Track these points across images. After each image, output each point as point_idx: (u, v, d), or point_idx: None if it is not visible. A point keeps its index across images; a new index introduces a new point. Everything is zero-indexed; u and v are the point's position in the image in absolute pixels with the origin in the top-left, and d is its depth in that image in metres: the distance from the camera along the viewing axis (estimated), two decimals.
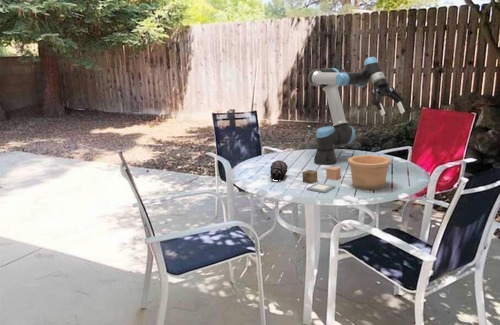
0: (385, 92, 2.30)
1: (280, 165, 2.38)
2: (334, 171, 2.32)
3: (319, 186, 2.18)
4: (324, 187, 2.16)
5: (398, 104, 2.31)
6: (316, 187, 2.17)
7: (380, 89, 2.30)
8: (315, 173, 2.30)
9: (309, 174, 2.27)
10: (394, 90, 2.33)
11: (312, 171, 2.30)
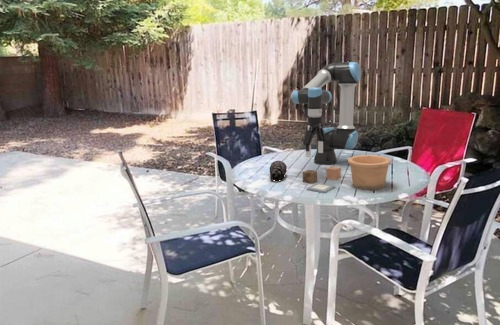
0: (316, 131, 2.23)
1: (279, 165, 2.37)
2: (334, 171, 2.32)
3: (319, 186, 2.18)
4: (324, 187, 2.16)
5: (319, 143, 2.31)
6: (316, 187, 2.17)
7: (314, 127, 2.21)
8: (315, 173, 2.30)
9: (309, 174, 2.27)
10: (322, 128, 2.28)
11: (312, 171, 2.30)
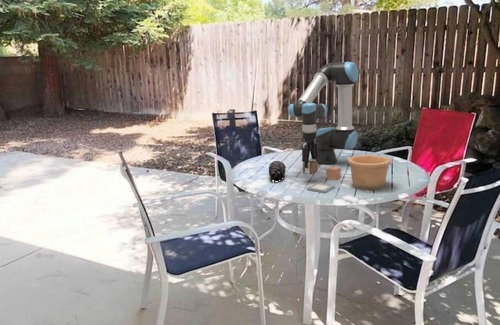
0: (311, 146, 2.26)
1: (279, 165, 2.37)
2: (334, 171, 2.32)
3: (319, 186, 2.18)
4: (324, 187, 2.16)
5: None
6: (316, 187, 2.17)
7: (308, 142, 2.24)
8: (315, 164, 2.29)
9: None
10: (316, 144, 2.31)
11: (312, 162, 2.29)
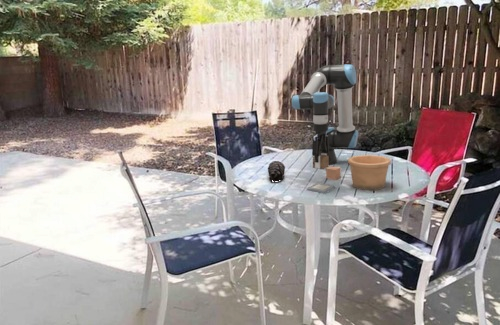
0: None
1: (278, 166, 2.37)
2: (334, 171, 2.32)
3: (319, 186, 2.18)
4: (324, 187, 2.16)
5: None
6: (316, 187, 2.17)
7: (320, 134, 2.08)
8: (326, 158, 2.13)
9: (320, 158, 2.10)
10: (328, 137, 2.15)
11: (323, 156, 2.13)
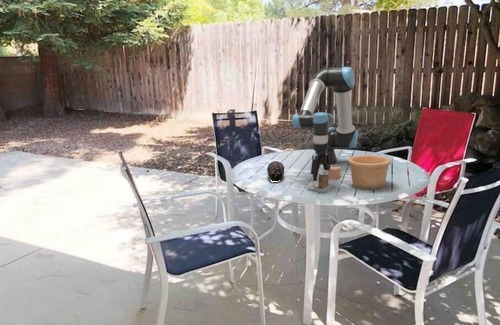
0: (322, 158, 2.13)
1: (278, 166, 2.36)
2: (334, 171, 2.32)
3: None
4: None
5: (324, 172, 2.19)
6: None
7: (320, 154, 2.10)
8: (326, 178, 2.15)
9: (320, 178, 2.13)
10: (328, 155, 2.17)
11: (323, 176, 2.16)
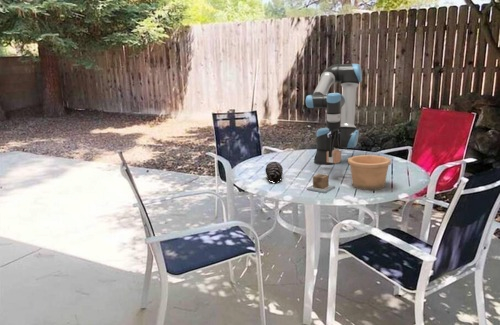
0: None
1: (276, 166, 2.35)
2: (334, 154, 2.30)
3: None
4: None
5: None
6: None
7: (333, 132, 2.28)
8: (326, 178, 2.15)
9: (320, 178, 2.13)
10: (340, 134, 2.34)
11: (323, 176, 2.16)
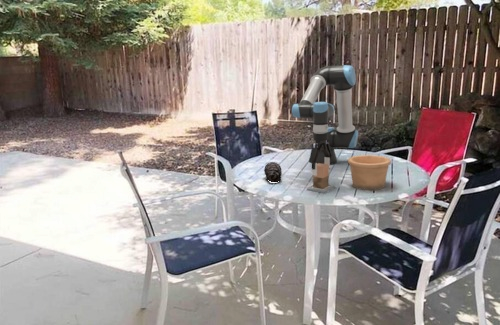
0: (322, 147, 2.11)
1: (276, 167, 2.35)
2: (321, 168, 2.11)
3: None
4: None
5: (326, 159, 2.19)
6: None
7: (320, 144, 2.09)
8: (326, 178, 2.15)
9: (320, 178, 2.13)
10: (328, 144, 2.16)
11: None
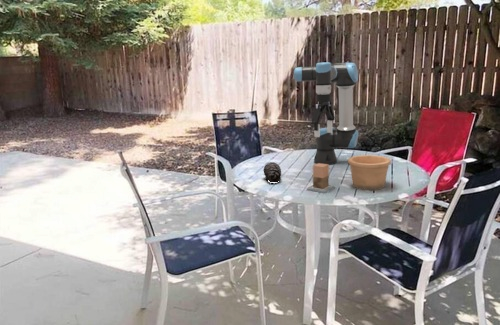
0: (325, 109, 2.09)
1: (275, 167, 2.34)
2: (321, 168, 2.11)
3: None
4: None
5: (329, 122, 2.17)
6: None
7: (322, 105, 2.07)
8: (326, 178, 2.15)
9: (320, 178, 2.13)
10: (331, 106, 2.14)
11: None
